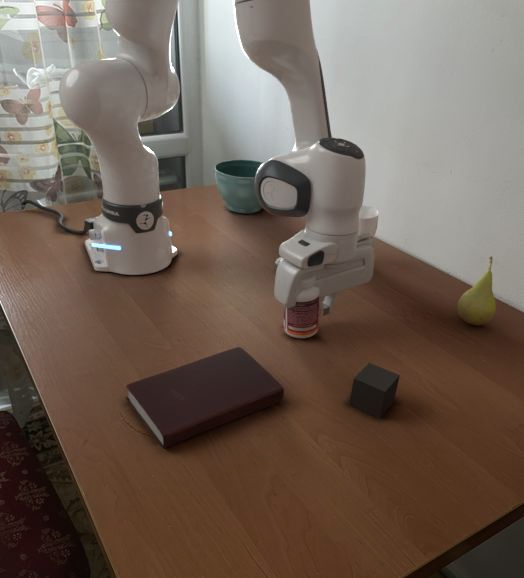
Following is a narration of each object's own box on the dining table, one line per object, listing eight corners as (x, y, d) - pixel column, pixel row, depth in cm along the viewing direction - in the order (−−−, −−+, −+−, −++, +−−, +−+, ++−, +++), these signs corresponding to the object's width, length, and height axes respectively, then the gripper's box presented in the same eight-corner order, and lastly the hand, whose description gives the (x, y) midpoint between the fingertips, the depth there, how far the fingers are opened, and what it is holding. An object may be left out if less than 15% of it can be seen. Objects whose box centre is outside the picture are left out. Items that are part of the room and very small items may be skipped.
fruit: (452, 326, 102) (468, 267, 95) (455, 308, 107) (471, 251, 101) (489, 334, 100) (509, 275, 93) (491, 316, 106) (509, 258, 99)
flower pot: (285, 209, 150) (288, 169, 144) (243, 223, 140) (245, 181, 134) (244, 194, 159) (245, 156, 153) (202, 206, 149) (201, 166, 143)
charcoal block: (348, 404, 81) (353, 377, 78) (364, 388, 84) (369, 362, 82) (379, 418, 79) (385, 391, 76) (393, 401, 82) (400, 375, 79)
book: (284, 403, 80) (285, 385, 79) (164, 452, 71) (162, 433, 69) (238, 361, 89) (238, 344, 87) (125, 400, 79) (123, 382, 77)
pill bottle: (325, 332, 97) (328, 276, 90) (297, 344, 94) (298, 287, 87) (304, 316, 101) (305, 262, 94) (276, 327, 98) (275, 273, 92)
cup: (352, 275, 118) (360, 222, 111) (321, 260, 123) (328, 209, 116) (378, 265, 123) (388, 213, 116) (348, 251, 128) (355, 201, 121)
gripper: (362, 225, 99) (352, 293, 106) (270, 248, 89) (267, 321, 96) (387, 236, 95) (375, 307, 102) (295, 262, 84) (289, 337, 92)
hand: (322, 314), depth 99 cm, fingers closed
